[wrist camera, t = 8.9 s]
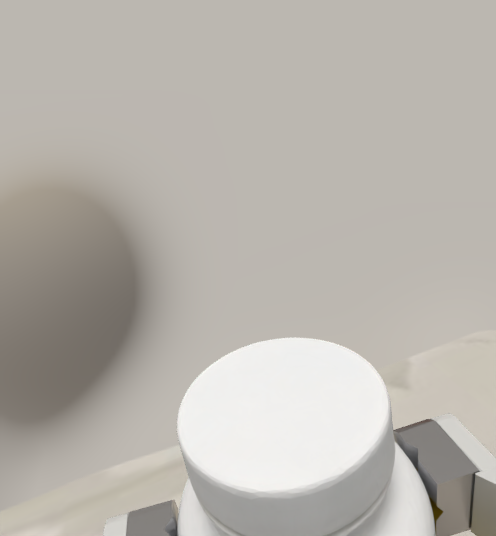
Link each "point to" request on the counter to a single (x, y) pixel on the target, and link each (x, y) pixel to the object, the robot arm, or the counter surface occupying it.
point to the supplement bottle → (295, 448)
